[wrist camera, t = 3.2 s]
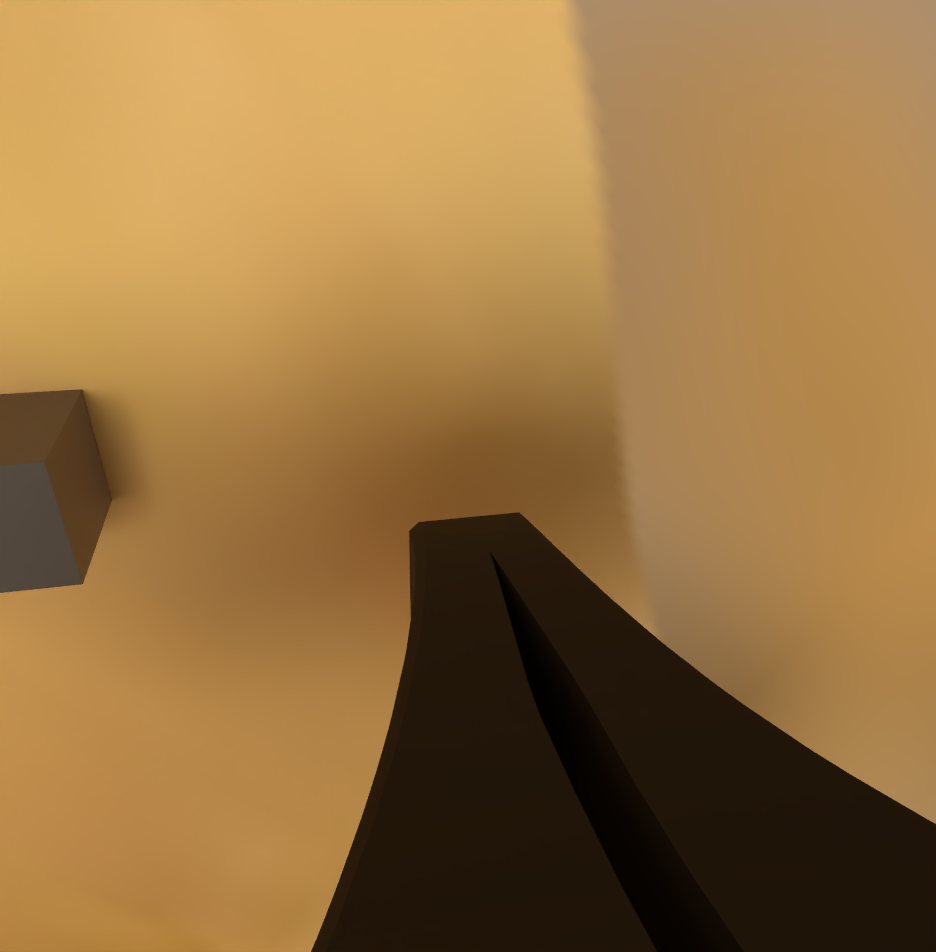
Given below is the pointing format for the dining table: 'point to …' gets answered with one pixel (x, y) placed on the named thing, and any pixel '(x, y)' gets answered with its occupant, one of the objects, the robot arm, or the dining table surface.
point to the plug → (48, 490)
